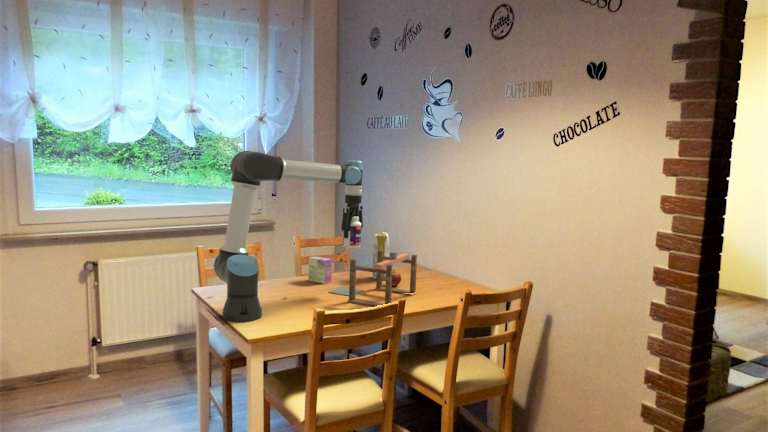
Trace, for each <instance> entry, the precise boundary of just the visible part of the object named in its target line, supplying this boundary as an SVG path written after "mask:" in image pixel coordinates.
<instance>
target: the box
mask: <svg viewBox="0 0 768 432" xmlns="http://www.w3.org/2000/svg"><path fill="white" fill-rule="evenodd" d="M332 268H333V259H332V258H327V257H322V256H318V255H317V256H316V255H315V256H310V257H308V273H307V274H308V275H307V277H308V278H307V281H308V282H313V283H314V282H315V283H319V284H323V285H326V284H330V283H332Z"/></svg>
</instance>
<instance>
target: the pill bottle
mask: <svg viewBox="0 0 768 432" xmlns="http://www.w3.org/2000/svg"><path fill="white" fill-rule="evenodd" d="M358 220H359V217H358V216H354V217H352V221H351V225H350V229H349V231H350V246H348V245H344V233H342V235H343V237H342V239H343V241H342V247H344V248H345V249H351V250H352V249H353V250H357V249H359V248H361V245H362V244H361V243H362V241H361V240H362V229H361V223H360V222H359V221H358Z"/></svg>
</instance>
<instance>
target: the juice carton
mask: <svg viewBox="0 0 768 432" xmlns="http://www.w3.org/2000/svg"><path fill="white" fill-rule="evenodd" d="M372 247H373V250H372V268H375V264H377V257H378V251H379V250H380V251H383V256H386V257H390V237H389V234H388V233H387V232H385V231H383V232H382V233H375V234H374V239H373V246H372ZM383 261H385V260H383ZM384 270H386V268H385V269H384ZM372 276H373V280H374V279H377V273H375V272H372ZM385 276H386V274H382V281H386V280H385Z"/></svg>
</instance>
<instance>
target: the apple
mask: <svg viewBox="0 0 768 432" xmlns="http://www.w3.org/2000/svg"><path fill="white" fill-rule="evenodd" d="M401 280H402V275H401V273H400V272H398V271H395V270H392V287H395V286H396V285H397V286H399V284H400V283H401ZM384 281H386V276H385V280H384ZM397 286H396V287H397Z"/></svg>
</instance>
